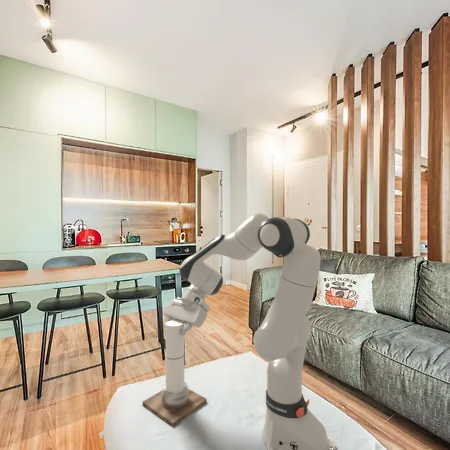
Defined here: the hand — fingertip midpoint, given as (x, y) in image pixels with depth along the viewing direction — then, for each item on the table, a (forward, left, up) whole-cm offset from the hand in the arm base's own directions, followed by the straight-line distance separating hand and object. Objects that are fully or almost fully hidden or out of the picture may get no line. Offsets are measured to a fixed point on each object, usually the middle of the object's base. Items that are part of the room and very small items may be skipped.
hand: (173, 331), depth 105 cm
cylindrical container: (0, -1, -22) cm, 22 cm away
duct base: (0, -1, -28) cm, 28 cm away
